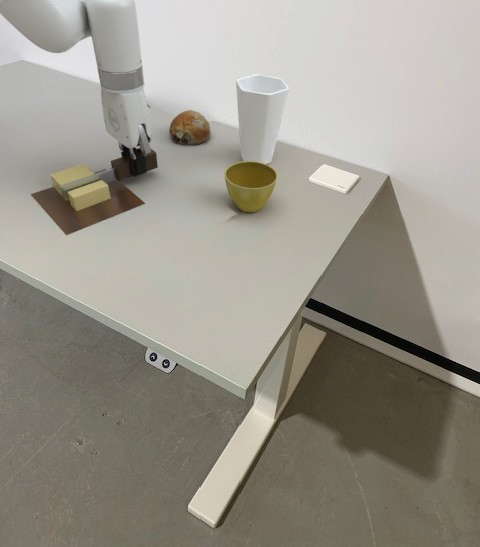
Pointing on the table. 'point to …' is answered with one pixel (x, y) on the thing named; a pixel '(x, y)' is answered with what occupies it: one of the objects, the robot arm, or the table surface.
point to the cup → (260, 115)
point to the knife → (110, 173)
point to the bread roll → (189, 128)
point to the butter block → (69, 176)
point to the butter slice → (89, 195)
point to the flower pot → (250, 184)
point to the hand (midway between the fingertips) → (135, 170)
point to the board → (91, 215)
